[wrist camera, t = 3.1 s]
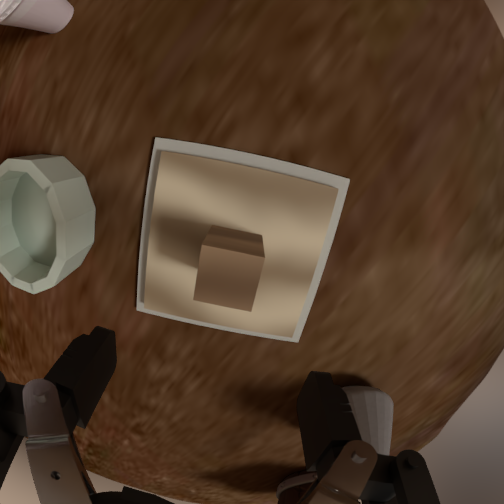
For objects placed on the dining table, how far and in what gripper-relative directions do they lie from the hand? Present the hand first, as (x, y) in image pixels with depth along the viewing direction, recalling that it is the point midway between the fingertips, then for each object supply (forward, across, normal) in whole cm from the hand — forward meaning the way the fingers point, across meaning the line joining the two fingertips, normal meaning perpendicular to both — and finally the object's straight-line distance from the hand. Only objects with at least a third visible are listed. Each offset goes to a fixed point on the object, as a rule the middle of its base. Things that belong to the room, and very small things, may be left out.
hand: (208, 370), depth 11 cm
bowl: (+15, +19, 0) cm, 24 cm away
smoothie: (+15, +23, -21) cm, 34 cm away
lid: (+14, 0, 0) cm, 14 cm away
